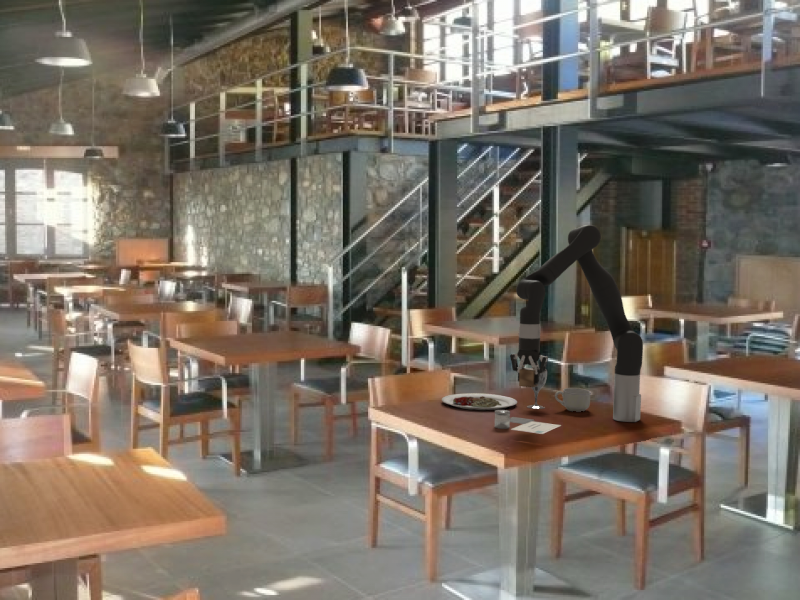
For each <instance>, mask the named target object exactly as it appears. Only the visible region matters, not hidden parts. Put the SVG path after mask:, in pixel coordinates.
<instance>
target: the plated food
mask: <svg viewBox="0 0 800 600" xmlns="http://www.w3.org/2000/svg"><path fill="white" fill-rule="evenodd" d="M441 402H442V403H444V404H447V405H449V406H453V407H456V408H458V409H465V410H475V411H477V410H478V411H491V410H492V411H496V410H503V409H506V408H508V407H509V408H510V407H513V406H516V405H517V403H518V401H517V399H515V398H512V397H509V396H504V395H500V394H494V393H492V394H491V393H478V392H477V393H476V392H475V393H471V392H470V393H457V394H456V393H455V394H449V395H446V396H443V397H442V398H441Z"/></svg>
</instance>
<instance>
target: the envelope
mask: <svg viewBox="0 0 800 600" xmlns="http://www.w3.org/2000/svg"><path fill="white" fill-rule="evenodd" d="M561 426H562V425H561V424H552V423H547V422H541V421H535V420H534V421H531V422H529V423H528V422H527V423H525V424H520V425H518V426H515V427H512V428H511V429H510V430H511V431H519V432H526V433H531V434H532V433H534V434H540V435H544V434H545V433H548V432H550V431H552V430H554V429H556V428H559V427H561Z"/></svg>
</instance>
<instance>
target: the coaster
mask: <svg viewBox="0 0 800 600" xmlns="http://www.w3.org/2000/svg"><path fill="white" fill-rule="evenodd" d="M531 421H534V422H535V419H533V418H532V419H531V418H524V417H516V416H512V417H510V423H514V424H520V425H522V424H525V423H527V422H528V423H529V422H531Z"/></svg>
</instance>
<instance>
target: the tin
mask: <svg viewBox="0 0 800 600" xmlns="http://www.w3.org/2000/svg"><path fill="white" fill-rule="evenodd" d="M510 416H511V411H510V410H507V409H506V410H505V409H496V410H494V428H495V429H500V430H501V429H502V430H505V429H510V426H511V425H510V424H511V422H510V418H511V417H510Z"/></svg>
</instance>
